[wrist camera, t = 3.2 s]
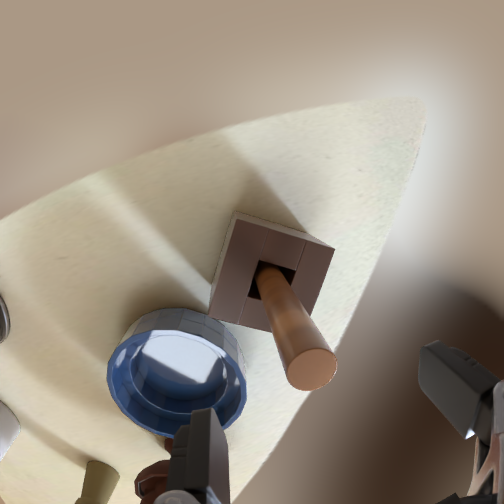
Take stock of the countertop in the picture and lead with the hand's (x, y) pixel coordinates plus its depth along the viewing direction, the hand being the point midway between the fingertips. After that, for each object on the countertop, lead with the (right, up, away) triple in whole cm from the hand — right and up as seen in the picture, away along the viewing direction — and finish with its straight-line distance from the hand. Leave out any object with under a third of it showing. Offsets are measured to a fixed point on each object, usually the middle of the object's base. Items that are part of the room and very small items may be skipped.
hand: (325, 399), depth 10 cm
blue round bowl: (-11, -7, +23) cm, 26 cm away
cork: (-28, -32, +27) cm, 50 cm away
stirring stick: (-2, +5, +21) cm, 22 cm away
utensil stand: (-2, +5, +21) cm, 22 cm away
